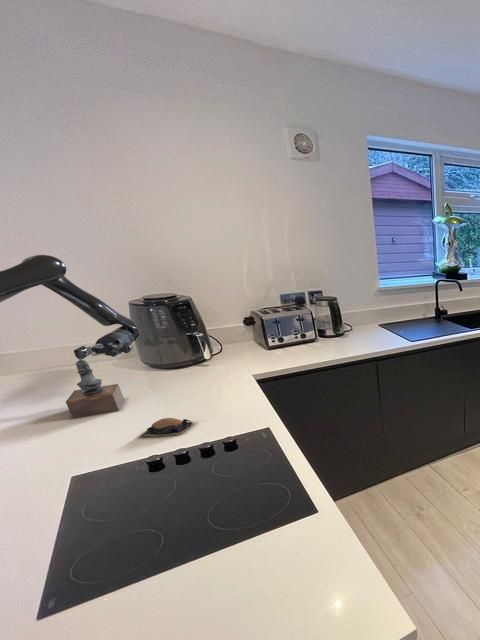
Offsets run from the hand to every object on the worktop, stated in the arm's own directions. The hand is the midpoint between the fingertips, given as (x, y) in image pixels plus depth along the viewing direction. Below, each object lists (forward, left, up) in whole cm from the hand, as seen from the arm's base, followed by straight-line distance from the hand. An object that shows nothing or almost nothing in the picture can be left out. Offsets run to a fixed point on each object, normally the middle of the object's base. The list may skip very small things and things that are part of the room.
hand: (95, 355), depth 138 cm
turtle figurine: (+18, -42, -16) cm, 48 cm away
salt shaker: (-2, -10, -10) cm, 14 cm away
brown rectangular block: (-2, -11, -16) cm, 19 cm away
